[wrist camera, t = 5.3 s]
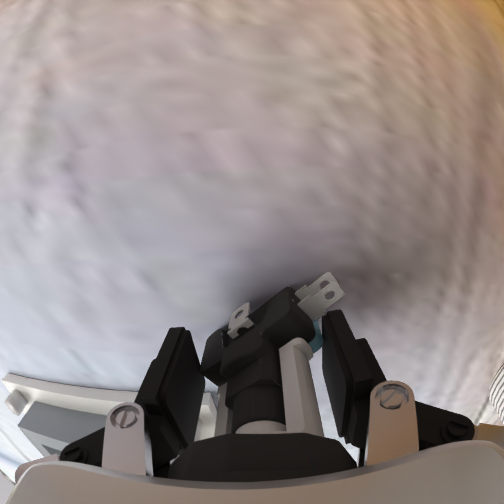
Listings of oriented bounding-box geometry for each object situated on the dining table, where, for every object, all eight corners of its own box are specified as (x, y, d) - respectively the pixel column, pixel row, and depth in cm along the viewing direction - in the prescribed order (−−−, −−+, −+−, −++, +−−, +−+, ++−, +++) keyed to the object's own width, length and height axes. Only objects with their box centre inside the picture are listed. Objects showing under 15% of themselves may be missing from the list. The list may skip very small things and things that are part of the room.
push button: (292, 227, 11) (392, 478, 2) (363, 311, 13) (460, 504, 3) (180, 321, 13) (104, 527, 4) (256, 384, 14) (254, 567, 5)
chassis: (210, 392, 15) (200, 449, 11) (250, 497, 20) (250, 531, 16) (7, 373, 16) (-17, 401, 12) (90, 477, 21) (80, 502, 17)
